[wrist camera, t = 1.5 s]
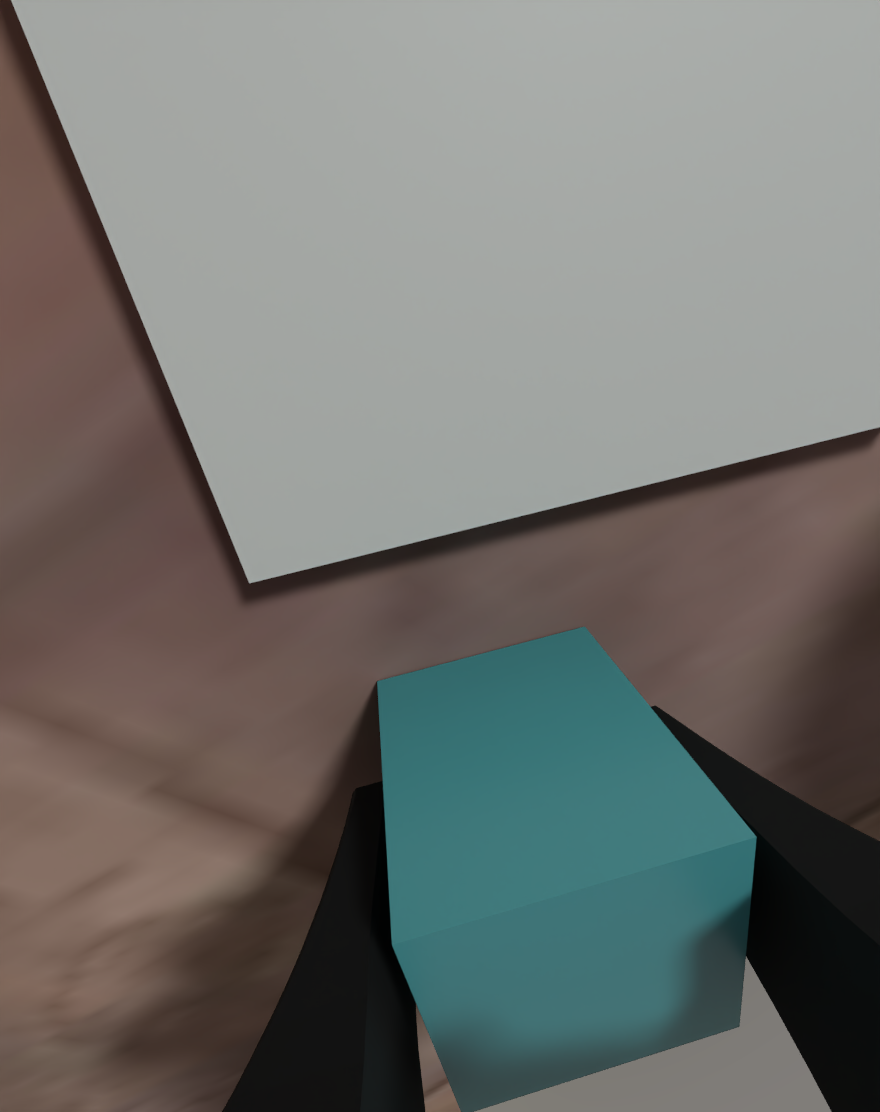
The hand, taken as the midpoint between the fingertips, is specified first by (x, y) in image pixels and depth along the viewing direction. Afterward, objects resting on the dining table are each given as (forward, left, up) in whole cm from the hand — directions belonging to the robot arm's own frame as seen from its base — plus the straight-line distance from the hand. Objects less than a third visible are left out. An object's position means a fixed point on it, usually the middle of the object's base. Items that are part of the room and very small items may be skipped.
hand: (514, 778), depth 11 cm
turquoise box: (0, 0, -1) cm, 1 cm away
